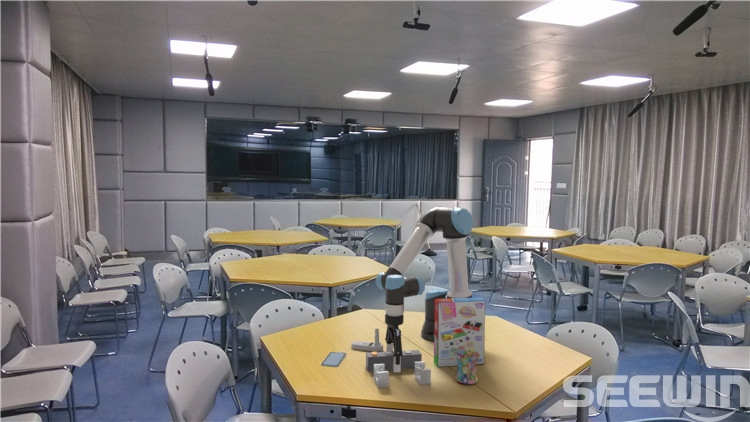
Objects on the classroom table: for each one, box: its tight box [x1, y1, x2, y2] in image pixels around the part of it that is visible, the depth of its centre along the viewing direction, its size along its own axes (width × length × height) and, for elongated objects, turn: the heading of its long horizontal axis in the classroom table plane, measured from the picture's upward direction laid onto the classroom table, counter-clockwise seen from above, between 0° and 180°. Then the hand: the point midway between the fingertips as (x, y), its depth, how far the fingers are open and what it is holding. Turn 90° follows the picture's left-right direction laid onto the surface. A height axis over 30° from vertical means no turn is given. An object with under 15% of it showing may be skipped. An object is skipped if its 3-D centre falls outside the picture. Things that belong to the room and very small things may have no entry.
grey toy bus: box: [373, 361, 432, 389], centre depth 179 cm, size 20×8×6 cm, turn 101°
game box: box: [433, 296, 486, 368], centre depth 198 cm, size 21×6×27 cm, turn 100°
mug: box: [454, 350, 480, 385], centre depth 179 cm, size 12×9×11 cm
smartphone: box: [320, 351, 347, 368], centre depth 201 cm, size 7×1×15 cm
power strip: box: [365, 349, 423, 372], centre depth 193 cm, size 22×5×7 cm, turn 101°
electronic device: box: [351, 328, 384, 352], centre depth 215 cm, size 5×10×15 cm
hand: (393, 365), depth 193 cm, fingers open, 13 cm apart
